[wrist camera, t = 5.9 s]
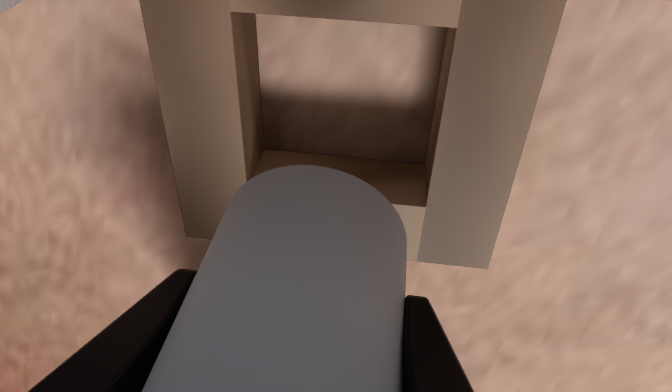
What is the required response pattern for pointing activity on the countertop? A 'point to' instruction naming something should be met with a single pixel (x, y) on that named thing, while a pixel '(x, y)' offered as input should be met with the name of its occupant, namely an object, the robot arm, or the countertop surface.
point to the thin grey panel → (8, 4)
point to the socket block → (386, 176)
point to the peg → (294, 292)
